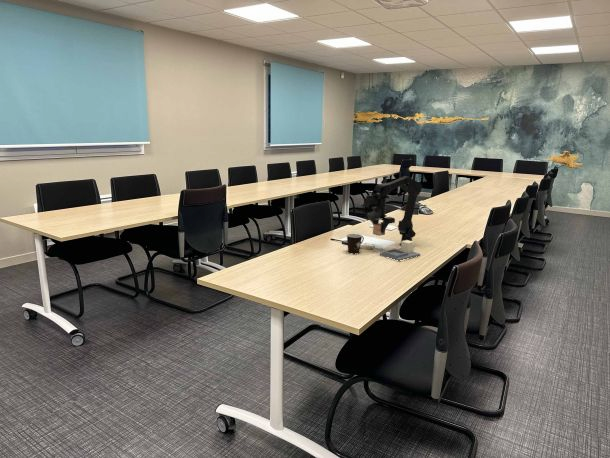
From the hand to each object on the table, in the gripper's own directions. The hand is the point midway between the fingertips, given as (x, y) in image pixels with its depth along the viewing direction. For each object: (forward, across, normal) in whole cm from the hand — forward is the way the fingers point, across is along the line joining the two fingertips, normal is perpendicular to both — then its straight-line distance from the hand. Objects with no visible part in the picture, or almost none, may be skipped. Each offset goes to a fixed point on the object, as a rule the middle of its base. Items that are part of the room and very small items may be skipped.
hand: (378, 232), depth 249 cm
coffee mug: (+11, -3, -15) cm, 19 cm away
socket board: (+10, +16, +1) cm, 19 cm away
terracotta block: (+1, 0, 0) cm, 1 cm away
